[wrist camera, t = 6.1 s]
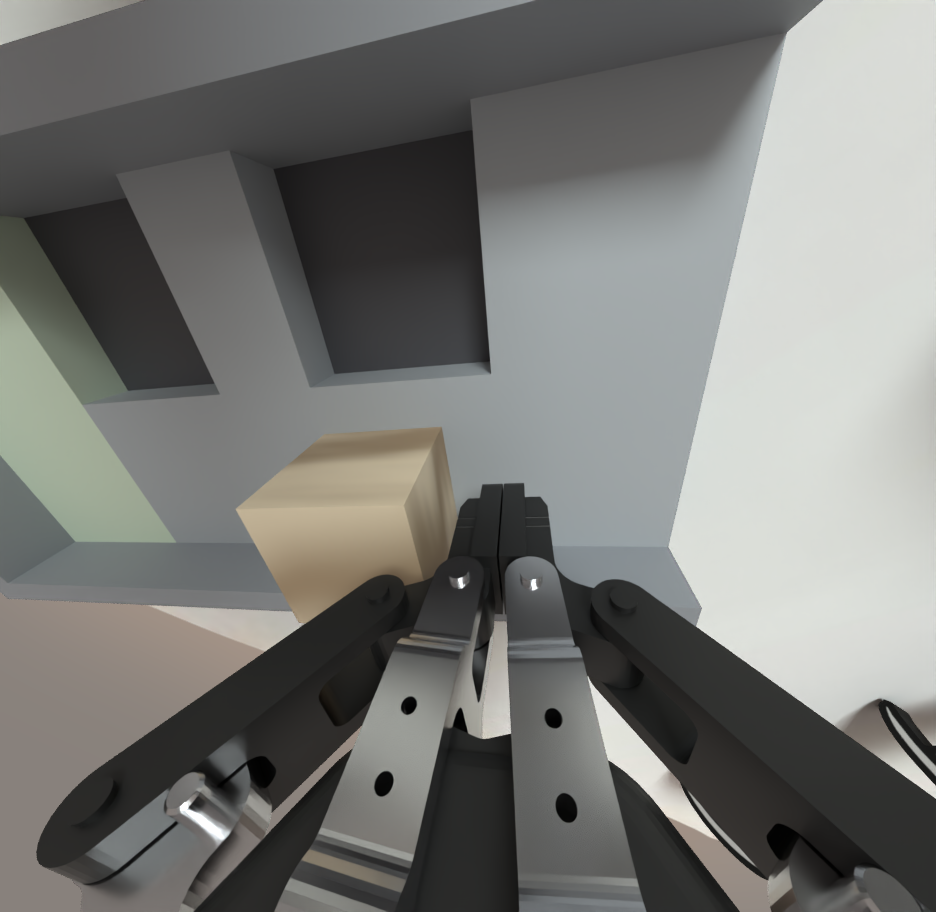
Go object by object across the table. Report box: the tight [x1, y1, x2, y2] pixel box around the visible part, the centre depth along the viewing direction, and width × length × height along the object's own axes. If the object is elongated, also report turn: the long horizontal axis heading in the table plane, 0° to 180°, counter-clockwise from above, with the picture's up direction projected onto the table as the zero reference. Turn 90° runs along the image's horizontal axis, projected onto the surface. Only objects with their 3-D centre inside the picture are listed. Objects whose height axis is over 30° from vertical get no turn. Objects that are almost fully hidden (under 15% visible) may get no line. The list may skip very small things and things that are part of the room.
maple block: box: [236, 427, 458, 623], centre depth 12 cm, size 5×5×5 cm
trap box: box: [0, 0, 823, 626], centre depth 13 cm, size 17×33×6 cm, turn 96°
